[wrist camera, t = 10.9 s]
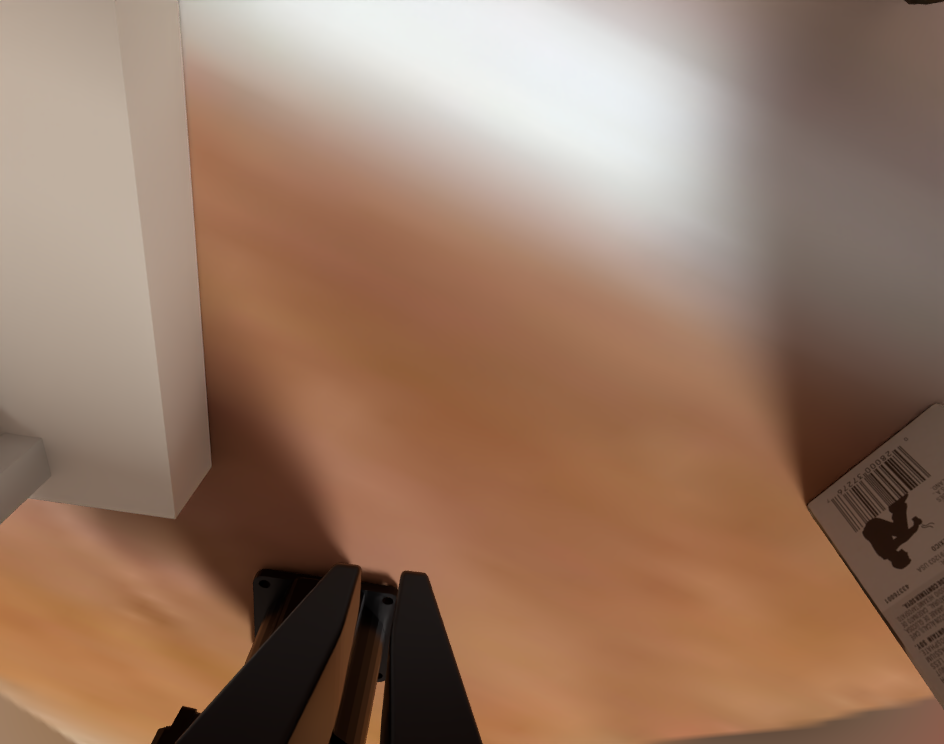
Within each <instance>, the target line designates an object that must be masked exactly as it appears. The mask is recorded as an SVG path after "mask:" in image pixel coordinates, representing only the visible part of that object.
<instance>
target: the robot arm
mask: <svg viewBox="0 0 944 744" xmlns="http://www.w3.org/2000/svg"><path fill="white" fill-rule="evenodd" d="M361 572H362V571H361V567H360V566H358V565H353V564H344V563H338V564H335V565H334V566H333V567H332V568H331V569H330V570H329V571H328V572H327V574H326V575H325V576H324V577H320V576H313V575H306V574H299V573H291V572H284V571H277V570H270V569H262V570H259V571H258V572H257V574H256V576H255V579H254V581H253V592H254V624H255V640H254V643H253V645H252V648H251V650H250V652H249V655H248V657H247V660H246V662H245V665H244V666H243V667H242V668H241V670H240V671H239V672H238V673H237V674H236V675H235V676H234V677H233V678H232V680H231V681H230V682H229V683H228V684H227V685H226V686H225V687H224V689H223V690H222V691H221V692H220V693H219V694H218V695H217V696H216V697H215V699H214V700H213V701H212V702H211V703H210V704H209V705H208V706H207V708H206V709H205V710H204V711H203V712H202V713H198V712H197V709H194V708H189V707H185V706H182V708H181V709H180V711H179V713H178V715H177V717H176V718H175V720H174V722H173V724H172V725H171V726H166V727H164V728H160V729H158V731H157V733H156V735H155V737H154V739H153V741H152V743H151V744H365V743H366V738H367V732H368V727H369V722H370V716H371V711H372V705H373V700H374V695H375V689H376V684H377V682H382V681H385V689H384V698H383V708H382V719H381V734H380V744H483V743H482V740H481V737H480V734H479V731H478V728H477V725H476V722H475V719H474V716H473V713H472V709H471V706H470V703H469V700H468V697H467V694H466V691H465V688H464V685H463V682H462V679H461V676H460V673H459V670H458V667H457V664H456V660H455V657H454V654H453V651H452V648H451V645H450V642H449V639H448V636H447V633H446V630H445V627H444V624H443V621H442V618H441V615H440V611H439V608H438V605H437V602H436V599H435V596H434V593H433V590H432V587H431V584H430V581H429V578H428V576H427V575H426V574H425V573H422V572H413V571H404V572H402V574H401V577H400V583H399V588H398V589H396V588H394V587H391V586H385V585H378V584H370V583H363V582H361ZM388 597H389V598H388Z"/></svg>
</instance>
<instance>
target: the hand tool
mask: <svg viewBox="0 0 944 744" xmlns="http://www.w3.org/2000/svg"><path fill="white" fill-rule="evenodd" d="M905 1H906V2H907V3H908V4H932V3H938V2H943V1H944V0H905Z"/></svg>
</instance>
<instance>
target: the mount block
mask: <svg viewBox="0 0 944 744" xmlns="http://www.w3.org/2000/svg"><path fill="white" fill-rule="evenodd" d="M211 467H212V462H211V448H210V434H209V420H208V406H207V392H206V379H205V365H204V351H203V337H202V323H201V309H200V295H199V281H198V267H197V254H196V240H195V226H194V212H193V198H192V184H191V170H190V156H189V142H188V129H187V115H186V101H185V87H184V73H183V59H182V45H181V31H180V18H179V4H178V0H0V524H1V523H2V522H3V521H4V520H5V519H7V518H8V517H9V516H10V515H11V514H12V513H13V512H14V511H15V510H16V509H17V508H18V507H19V506H20V505H21V504H22V503H23V502H24V501H26V500H27V499H28V498H30V499H37V500H44V501H51V502H58V503H65V504H72V505H79V506H86V507H93V508H100V509H107V510H114V511H121V512H128V513H136V514H143V515H150V516H157V517H164V518H171V519H176V518H177V516H178V515H179V513H180V512H181V511H182V509H183V508H184V506H185V505H186V503H187V502H188V500H189V499H190V497H191V496H192V495H193V493H194V492H195V490H196V489H197V487H198V486H199V484H200V483H201V482H202V480H203V479H204V477H205V476H206V474H207V473H208V471H209V470H210V468H211Z"/></svg>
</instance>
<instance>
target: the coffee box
mask: <svg viewBox="0 0 944 744" xmlns="http://www.w3.org/2000/svg"><path fill="white" fill-rule="evenodd" d="M807 509H808V511H809V512H810V514H811V516H812V517H813V519H814V520H815V521H816V523H817V524H818V525H819V527H820V528H821V530H822V531H823V533H824V534H825V536H826V537H827V538H828V540H829V541H830V543H831V544H832V546H833V547H834V549H835V550H836V552H837V553H838V554H839V556H840V557H841V559H842V560H843V562H844V563H845V565H846V566H847V567H848V569H849V570H850V572H851V573H852V575H853V576H854V578H855V579H856V581H857V582H858V584H859V585H860V587H861V588H862V590H863V591H864V593H865V594H866V596H867V597H868V598H869V600H870V601H871V603H872V604H873V606H874V607H875V609H876V610H877V612H878V613H879V615H880V616H881V617H882V619H883V620H884V622H885V623H886V625H887V626H888V628H889V629H890V631H891V632H892V634H893V635H894V637H895V638H896V640H897V641H898V643H899V644H900V645H901V647H902V648H903V650H904V651H905V653H906V654H907V656H908V657H909V659H910V660H911V662H912V663H913V665H914V666H915V668H916V669H917V671H918V672H919V674H920V675H921V677H922V678H923V679H924V681H925V682H926V684H927V685H928V687H929V688H930V690H931V691H932V693H933V694H934V696H935V697H936V699H937V700H938V702H939V703H940V704H941V706H942V707H943V709H944V406H943V405H941V404H934V405H932V406H931V407H930V408H928V409H927V410H926V411H925V412H923V413H922V414H921V415H920V416H918V417H917V418H916V419H915V420H913V421H912V422H911V423H910V424H908V425H907V426H906V427H905V428H903V429H902V430H901V431H900V432H898V433H897V434H896V435H895V436H893V437H892V438H891V439H890V440H888V441H887V442H886V443H884V444H883V445H882V446H881V447H879V448H878V449H877V450H876V451H874V452H873V453H872V454H870V455H869V456H868V457H867V458H865V459H864V460H863V461H862V462H860V463H859V464H858V465H857V466H855V467H854V468H853V469H852V470H850V471H849V472H848V473H847V474H845V475H844V476H843V477H841V478H840V479H839V480H838V481H836V482H835V483H834V484H833V485H831V486H830V487H829V488H828V489H827V490H825V491H824V492H823V493H821V494H820V495H819V496H817V497H816V498H815V499H814V500H813V501H811V502H810V503H809V504H808V508H807Z"/></svg>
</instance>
